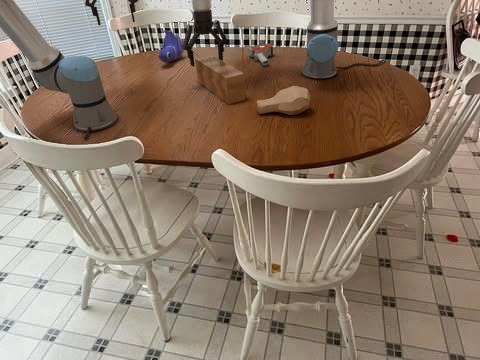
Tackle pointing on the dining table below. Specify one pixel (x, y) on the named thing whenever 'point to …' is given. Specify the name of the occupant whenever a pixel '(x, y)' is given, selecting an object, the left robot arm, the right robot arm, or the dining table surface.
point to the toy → (171, 47)
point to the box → (221, 79)
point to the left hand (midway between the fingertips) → (116, 23)
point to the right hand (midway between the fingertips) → (207, 62)
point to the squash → (286, 101)
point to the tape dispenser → (261, 53)
